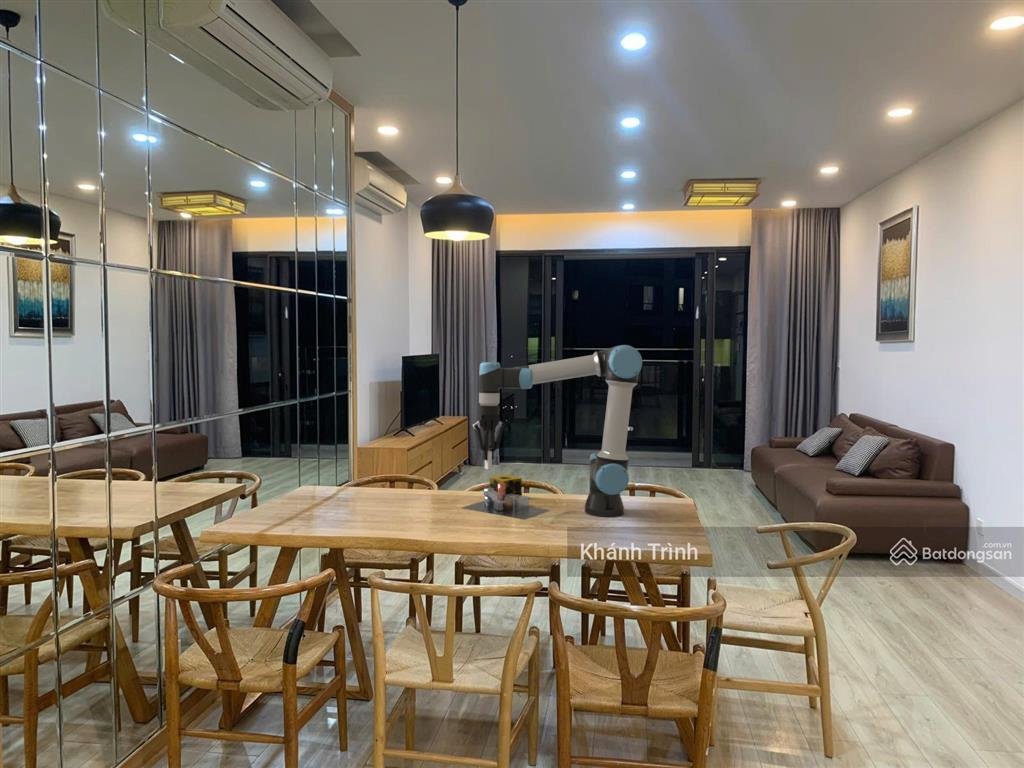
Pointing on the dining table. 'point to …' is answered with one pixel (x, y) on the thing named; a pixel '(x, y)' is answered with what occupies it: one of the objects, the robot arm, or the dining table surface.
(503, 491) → the lever
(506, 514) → the gray mechanism base plate
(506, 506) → the walnut
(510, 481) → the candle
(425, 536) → the dining table surface
